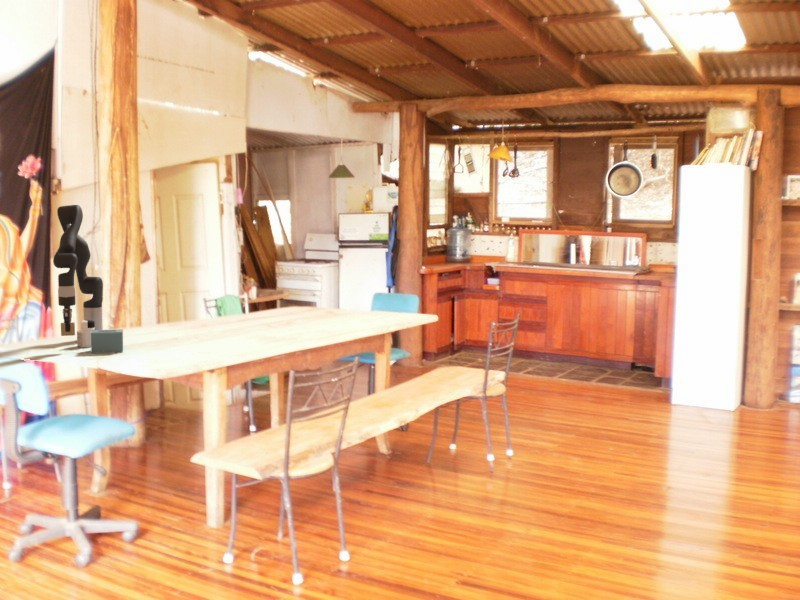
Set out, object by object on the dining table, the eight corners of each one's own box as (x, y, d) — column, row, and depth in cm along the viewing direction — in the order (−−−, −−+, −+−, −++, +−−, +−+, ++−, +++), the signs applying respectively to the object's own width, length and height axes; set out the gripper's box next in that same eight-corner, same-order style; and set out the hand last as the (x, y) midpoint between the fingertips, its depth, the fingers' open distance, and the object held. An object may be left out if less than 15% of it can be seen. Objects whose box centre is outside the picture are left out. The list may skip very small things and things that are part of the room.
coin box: (92, 350, 399) (92, 330, 398) (123, 349, 403) (122, 329, 402) (91, 353, 390) (90, 332, 389) (122, 352, 394) (122, 332, 393)
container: (91, 344, 417) (90, 319, 416) (99, 346, 412) (98, 320, 411) (76, 346, 411) (76, 320, 410) (85, 347, 406) (84, 321, 405)
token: (61, 335, 392) (61, 322, 391) (74, 334, 393) (74, 322, 393) (61, 335, 390) (60, 323, 389) (74, 335, 392) (74, 322, 391)
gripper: (59, 294, 395) (60, 329, 397) (56, 297, 382) (58, 333, 384) (76, 293, 397) (77, 329, 399) (74, 296, 384) (75, 333, 386)
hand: (68, 331), depth 391 cm, fingers closed on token, 1 cm apart
